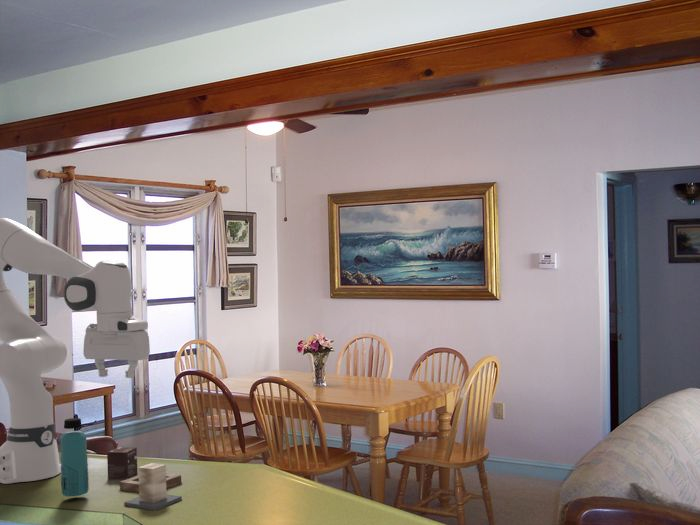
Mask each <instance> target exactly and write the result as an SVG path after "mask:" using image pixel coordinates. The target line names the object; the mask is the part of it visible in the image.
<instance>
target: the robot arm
mask: <svg viewBox="0 0 700 525" xmlns="http://www.w3.org/2000/svg"><path fill="white" fill-rule="evenodd" d="M13 268H14V270H15V269H16V270H17V271H20V272H23V273H25V274H28V275H29V274H31V275H43V276H44V275H45V276H46V275H47V276H54V277H55V276H56V277H60V278H63V279H67V282H66V283H65V285H64V288H63V300H64V302H65V304H66V306H67V307H68V308H69V309H71V310H72V311H75V312H80V313H83V312H84V313H85V312H96V323H90V324H89V325H88V326H87V327H86V328H85V335H84V338H83V352H82V354H83V356H84V358H85V359H86V360H94V364H95V367H96V368H97V370H98V377H100V378H105V377H108V376H109V375H108V369H107V368H106V366H105V364H104V363H105V362H106V361H108V360H109V361H111V360H112V361H113V360H114V361H127V365H128V369H127V370H125V378H126V379H132V378H135V376H136V374H135V373H136V372H135V371H136V369H137V367H138V364H139V361H144V360H147V359H148V358H149V356H150V353H151V352H150V351H151V350H150V349H151V348H150V337H149V333H148V332H147V331H146V330H148V328H149V323H148V321H146V320H144V319H142V318H140V317H137V316H135V315H133V308H132V304H131V299H132V295H133V294H132V279H131V273H130V270H129V269H130V268H129V267H128V266H127V264H125V263H123V262H120V261H111V260H101V261H98V262H97V263H96V265H95V266H92V265H91V264H89V263H87V262H85V261H83V260H81V259H80V258H78V257H76V256H75V255H73V254H71V253H69V252H67V251H65V250H64V249H63V248H60V247H59V246H57V245H55V244H53V243H51V242H50V241H49V240H48V239H45V238H44V237H43V236H41V235H40V234H38V233H36V232H35V231H34V230H32V229H30V227H27V226H26V225H24V224H22V223H20V222H17V221H15V220H13V219H10V218H8V217H0V341H2V342H3V343H1V344H0V379H1V381H2V382H3V384H4V387H5V389H6V392H7V396H8V400H9V409H10V410H9V411H10V427H9V428H5V429H4V431H6V432H4V434H7V436H6V441H5V442H4V443H3V444H2V445H1V446H0V483H1V484H5V485H8V484H14V483H24V482H26V483H27V482H33V481H34V482H35V481H41V480H45V479H49V478H53V477H55V476H57V475H59V474H61V462H60V455H59V449H58V442H57V440H56V439H55V436H56V430H57V428H56V423H55V422H54V403H53V402H54V401H53V399H54V398H53V396H52V393H51V392H49V391H48V390H47V389H46V387H45V386H44V382H43V380H42V375H43V374H47V373H52V372H53V371H54V370H57V369H58V368H59V367H61V366H62V365H63V364H64V363H65V362H66V359H67V356H68V350H67V346H66V344H65V342H64V341H63V340H62V339H60V337H57V336H55V335H53V334H52V333H50V332H49V331H47V330H46V329H45V328H43V327H42V326H41V325H40V323H38V322H37V321H35V320H34V318H33V317H32V316H30V314H28V312H27V311H26V309H24V307H23V305H22V304H21V303H20V301H19V300H18V298H17V297H16V296H15V294H14V292H13V290H12V289H11V288H10V286H8V283H6V281H5V279H4V276H3V274H4V273H3V272H10V271H11V270H13ZM105 360H106V361H105Z"/></svg>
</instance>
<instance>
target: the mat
mask: <svg viewBox="0 0 700 525" xmlns="http://www.w3.org/2000/svg"><path fill="white" fill-rule="evenodd" d="M166 494H167V493H166ZM182 500H183V499H182V496H180V495H176V494H175V495H174V494H167V498H165V499H162V500H160V501H157V502H155V503H151V502H144V501H139V496H136V497H135V498H132V499H129V500H127V501H124V503H123V505H124V507H131V508H137V509H143V510H150V511H158V510H160V509H163V508H166V507H168V506H170V505H173V504H175V503H178V502H179V501H182Z"/></svg>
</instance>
